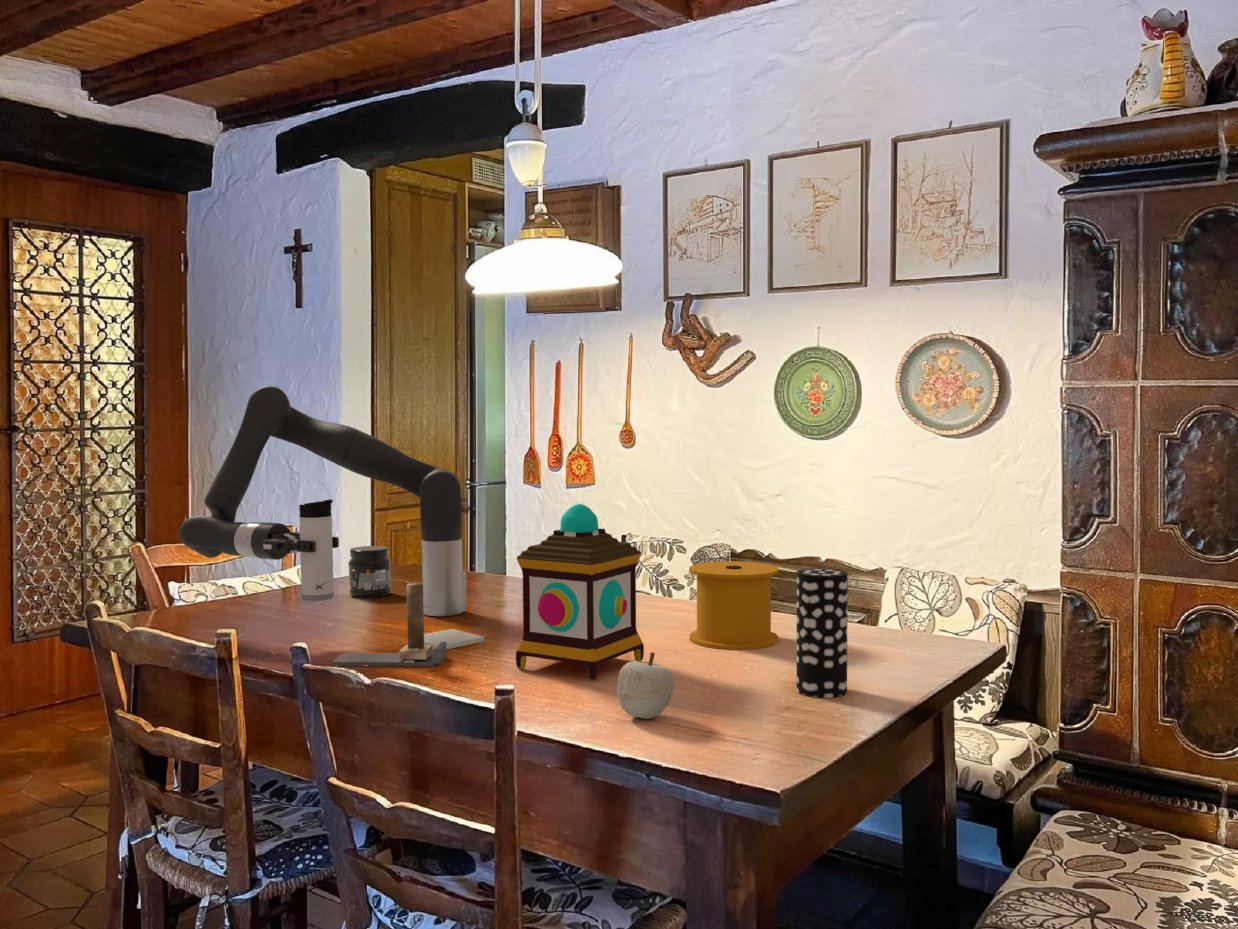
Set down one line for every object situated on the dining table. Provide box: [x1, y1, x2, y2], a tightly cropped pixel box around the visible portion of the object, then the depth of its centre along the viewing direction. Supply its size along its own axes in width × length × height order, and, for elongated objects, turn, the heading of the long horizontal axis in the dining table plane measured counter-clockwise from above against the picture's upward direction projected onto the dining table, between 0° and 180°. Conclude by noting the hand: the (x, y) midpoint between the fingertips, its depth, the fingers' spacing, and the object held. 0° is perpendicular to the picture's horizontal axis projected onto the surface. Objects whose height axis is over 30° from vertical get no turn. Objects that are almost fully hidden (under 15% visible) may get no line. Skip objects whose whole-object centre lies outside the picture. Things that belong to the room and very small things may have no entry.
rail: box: [331, 642, 448, 668], centre depth 198 cm, size 20×7×3 cm, turn 87°
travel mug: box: [298, 498, 335, 602], centre depth 211 cm, size 6×7×20 cm
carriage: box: [398, 582, 433, 659], centre depth 197 cm, size 5×5×14 cm
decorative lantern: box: [515, 503, 645, 682], centre depth 193 cm, size 20×20×30 cm
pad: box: [424, 628, 485, 650], centre depth 214 cm, size 11×11×1 cm
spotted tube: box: [796, 567, 849, 699], centre depth 175 cm, size 8×8×20 cm
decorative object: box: [616, 651, 675, 720], centre depth 161 cm, size 9×9×10 cm
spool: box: [688, 560, 779, 650], centre depth 214 cm, size 18×18×15 cm
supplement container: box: [347, 545, 392, 599], centre depth 267 cm, size 10×10×12 cm
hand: (326, 544), depth 210 cm, fingers closed on travel mug, 6 cm apart
